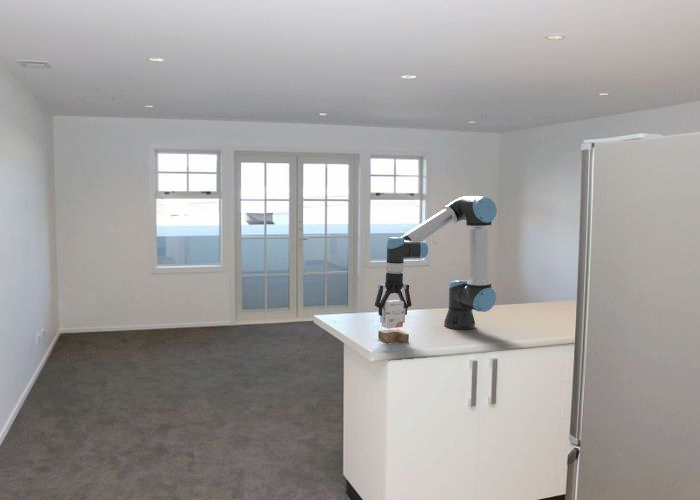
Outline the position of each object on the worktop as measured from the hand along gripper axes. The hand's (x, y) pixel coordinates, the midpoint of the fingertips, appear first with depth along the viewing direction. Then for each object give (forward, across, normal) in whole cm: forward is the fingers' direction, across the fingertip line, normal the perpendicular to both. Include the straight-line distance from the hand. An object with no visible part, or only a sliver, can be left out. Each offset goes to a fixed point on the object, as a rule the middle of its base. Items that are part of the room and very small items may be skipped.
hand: (392, 322), depth 299 cm
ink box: (+2, 0, 0) cm, 2 cm away
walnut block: (+8, 0, 0) cm, 8 cm away
